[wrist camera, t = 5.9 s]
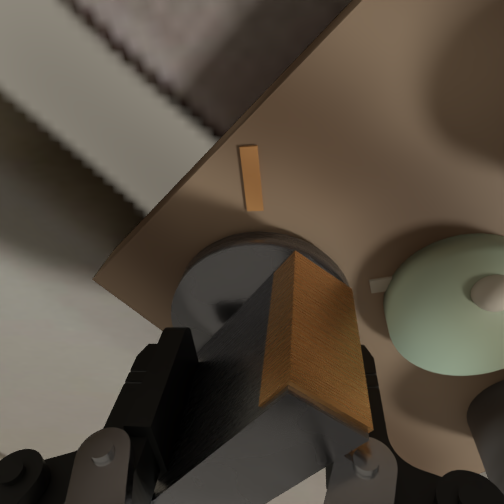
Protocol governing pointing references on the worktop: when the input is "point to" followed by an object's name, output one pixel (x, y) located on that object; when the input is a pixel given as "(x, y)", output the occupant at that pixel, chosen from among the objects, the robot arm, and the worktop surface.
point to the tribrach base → (373, 210)
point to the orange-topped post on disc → (265, 371)
